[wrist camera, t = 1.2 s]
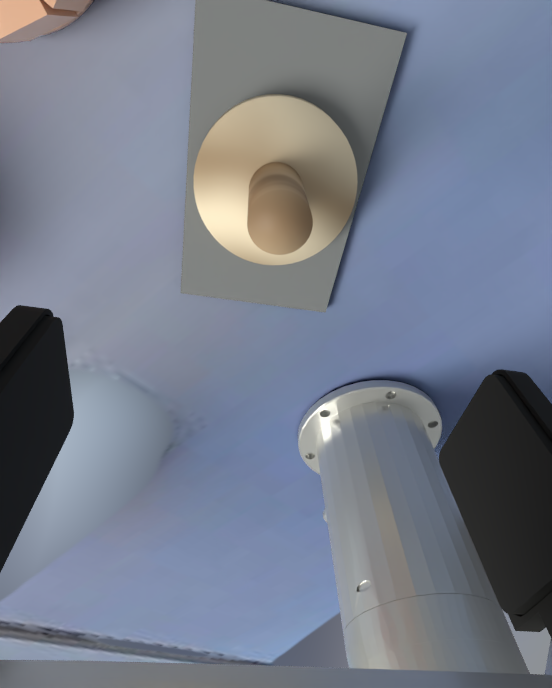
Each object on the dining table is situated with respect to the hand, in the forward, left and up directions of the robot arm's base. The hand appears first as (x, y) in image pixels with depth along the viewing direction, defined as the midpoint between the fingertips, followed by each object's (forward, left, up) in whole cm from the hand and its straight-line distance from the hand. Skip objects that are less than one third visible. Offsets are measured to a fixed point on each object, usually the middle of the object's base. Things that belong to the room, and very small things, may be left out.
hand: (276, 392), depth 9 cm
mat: (0, -1, -19) cm, 19 cm away
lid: (0, -1, -18) cm, 18 cm away
